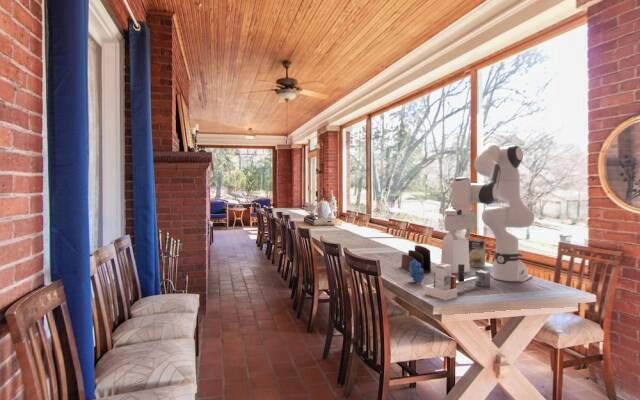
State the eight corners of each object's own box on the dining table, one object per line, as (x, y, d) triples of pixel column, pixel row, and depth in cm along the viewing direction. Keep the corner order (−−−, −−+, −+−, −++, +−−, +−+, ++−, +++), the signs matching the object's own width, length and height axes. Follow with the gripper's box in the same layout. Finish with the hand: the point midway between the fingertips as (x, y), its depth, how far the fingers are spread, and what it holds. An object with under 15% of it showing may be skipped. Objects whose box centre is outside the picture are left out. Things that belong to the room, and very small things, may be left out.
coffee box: (467, 266, 255) (467, 240, 254) (470, 264, 260) (470, 239, 260) (483, 267, 250) (483, 241, 249) (485, 265, 255) (485, 240, 255)
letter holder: (416, 266, 257) (416, 243, 257) (431, 273, 238) (431, 248, 237) (401, 266, 255) (401, 244, 255) (415, 273, 236) (415, 249, 235)
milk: (457, 267, 251) (457, 225, 249) (469, 271, 240) (470, 227, 239) (440, 269, 247) (440, 226, 246) (452, 273, 236) (452, 228, 235)
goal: (436, 291, 198) (436, 283, 198) (457, 297, 188) (457, 288, 188) (425, 294, 194) (425, 285, 193) (445, 300, 184) (445, 291, 183)
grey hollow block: (480, 283, 213) (480, 270, 212) (490, 285, 208) (490, 272, 208) (475, 284, 210) (475, 271, 210) (484, 287, 206) (485, 273, 205)
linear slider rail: (472, 283, 210) (472, 259, 209) (484, 286, 204) (484, 262, 204) (441, 291, 196) (441, 265, 196) (453, 294, 190) (453, 268, 190)
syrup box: (440, 292, 196) (440, 262, 196) (451, 295, 192) (451, 264, 191) (433, 294, 193) (433, 264, 192) (444, 297, 188) (444, 266, 187)
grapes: (403, 280, 220) (403, 258, 219) (413, 279, 222) (413, 257, 221) (415, 285, 209) (415, 262, 208) (426, 284, 211) (426, 261, 211)
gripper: (469, 208, 205) (468, 235, 206) (442, 211, 194) (442, 240, 195) (480, 209, 200) (479, 237, 201) (453, 212, 189) (453, 241, 189)
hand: (461, 238), depth 198 cm, fingers open, 8 cm apart
